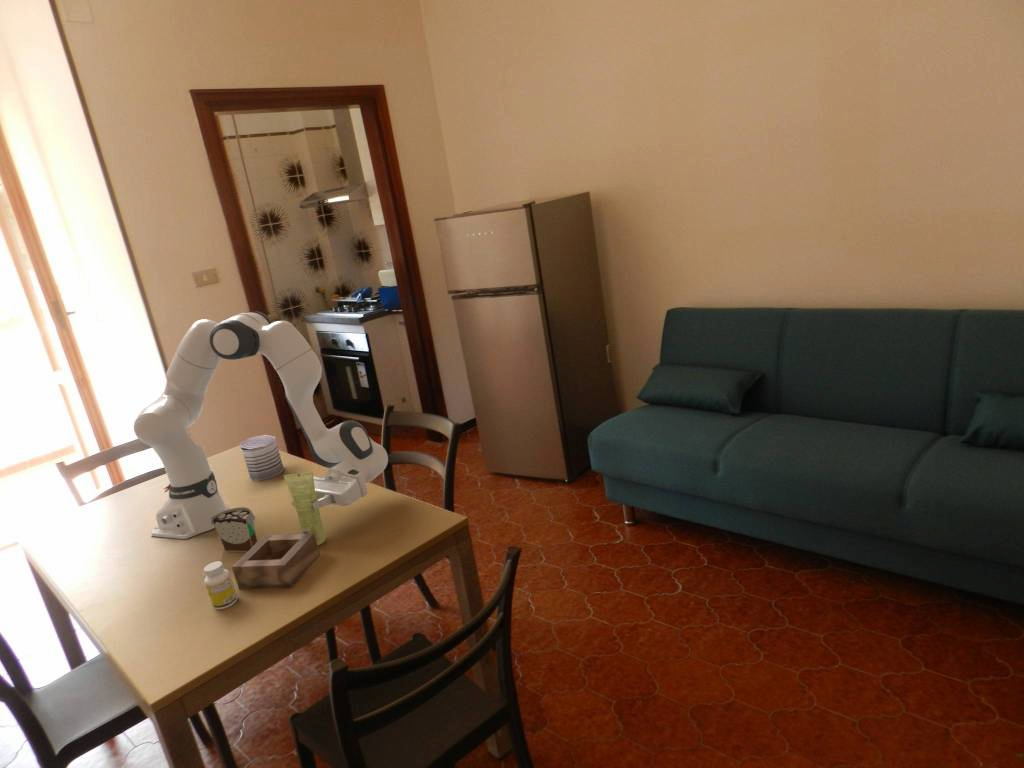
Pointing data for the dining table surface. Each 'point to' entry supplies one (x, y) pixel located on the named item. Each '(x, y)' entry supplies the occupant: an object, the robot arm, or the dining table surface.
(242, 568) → the organiser
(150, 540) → the dining table surface
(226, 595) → the supplement bottle
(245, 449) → the can
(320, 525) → the tube
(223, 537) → the food container
